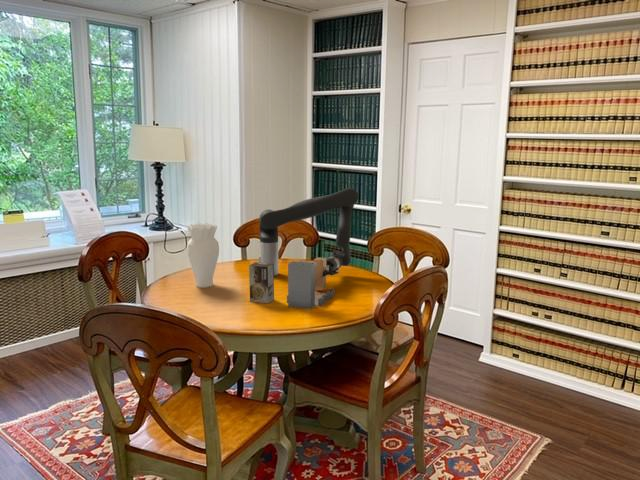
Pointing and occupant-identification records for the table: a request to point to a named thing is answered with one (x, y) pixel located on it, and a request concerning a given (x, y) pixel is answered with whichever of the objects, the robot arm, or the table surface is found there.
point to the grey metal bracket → (304, 286)
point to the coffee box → (261, 282)
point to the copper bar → (320, 273)
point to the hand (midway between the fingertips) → (318, 273)
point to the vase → (203, 252)
